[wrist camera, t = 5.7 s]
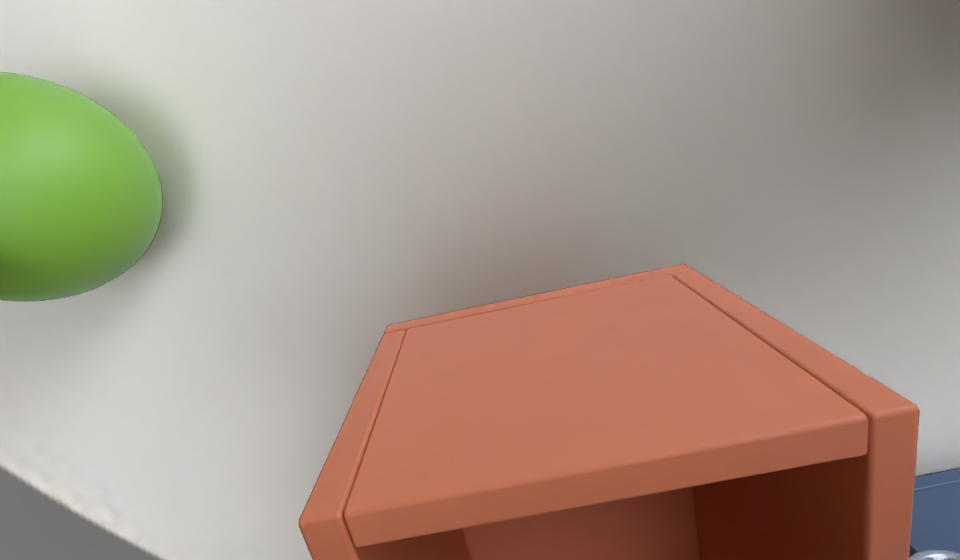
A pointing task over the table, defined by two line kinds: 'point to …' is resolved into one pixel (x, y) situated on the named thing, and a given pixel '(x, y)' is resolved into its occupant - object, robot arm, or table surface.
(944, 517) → the big tote
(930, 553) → the robot arm
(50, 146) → the snail figurine
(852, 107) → the table surface
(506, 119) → the table surface
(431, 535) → the small tote
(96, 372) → the table surface
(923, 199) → the table surface
